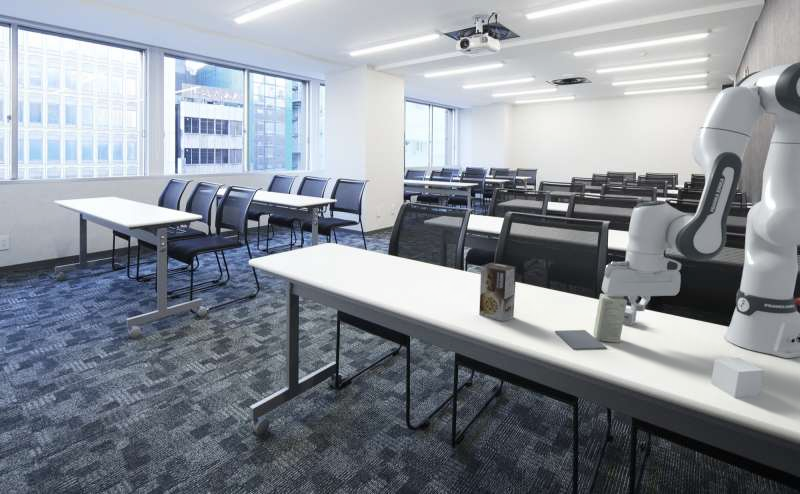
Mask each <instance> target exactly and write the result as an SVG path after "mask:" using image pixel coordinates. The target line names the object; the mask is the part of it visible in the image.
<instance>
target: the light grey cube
mask: <svg viewBox="0 0 800 494" xmlns="http://www.w3.org/2000/svg"><path fill="white" fill-rule="evenodd" d="M763 375H764V369H762V368H760V367H758V366H756V365H753V364H752V363H750V362H748V361H746V360H743V359H742V358H740V357H730V358H729V357H728V358H717V359H716V358H715V359H714V364H713V368H712V375H711V382H710V384H711V385H712V386H714V388H715V387H716V388H717V389H719V390H720V391H722V392H724V393H725V394H727V395H729V396H731V397H732V398H734V399H735V398H747V397H748V398H749V397H758V396H760V391H761V390H760V389H761V385H762V381H763V380H762V379H763Z"/></svg>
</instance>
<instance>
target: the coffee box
mask: <svg viewBox="0 0 800 494" xmlns="http://www.w3.org/2000/svg"><path fill="white" fill-rule="evenodd" d="M516 275H517V266H512V265H508V264H501V263H496V262H490V263H486V264H483V265H481V266H480V284H479V285H480V288H479V289H480V290H479V311H478V313H479V314H478V315H480V316H483V317H486V318H490V319H493V320H498V321H501V322H505V321H508V320H510V319H512V318H514V313H515V312H514V311H515V297H516V296H515V294H516V278H517V276H516Z"/></svg>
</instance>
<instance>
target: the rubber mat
mask: <svg viewBox="0 0 800 494" xmlns="http://www.w3.org/2000/svg"><path fill="white" fill-rule="evenodd" d="M554 333H555V334H556V335H558V337H560V338H561V340H563V342H565V343H566V344H567V345H568V346H569V347H570V348H571V349H572V350H576V351H577V350H578V351H579V350H606V349H608V347H607V346H606V345H604V344H603V343H602V342H601V341H600V340H596V338H595V336H594V335H592V334H591V333H589V332H588V331H587V330H585V329H573V330H572V329H570V330H569V329H568V330H554Z"/></svg>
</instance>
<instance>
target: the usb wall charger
mask: <svg viewBox="0 0 800 494" xmlns="http://www.w3.org/2000/svg"><path fill="white" fill-rule="evenodd" d="M636 319H637V311H632V310H631V308H628V307H626V310H625V315H624V321H623V326H628V327H630V326H632V325H633V324H634V323H635V322H636Z"/></svg>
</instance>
